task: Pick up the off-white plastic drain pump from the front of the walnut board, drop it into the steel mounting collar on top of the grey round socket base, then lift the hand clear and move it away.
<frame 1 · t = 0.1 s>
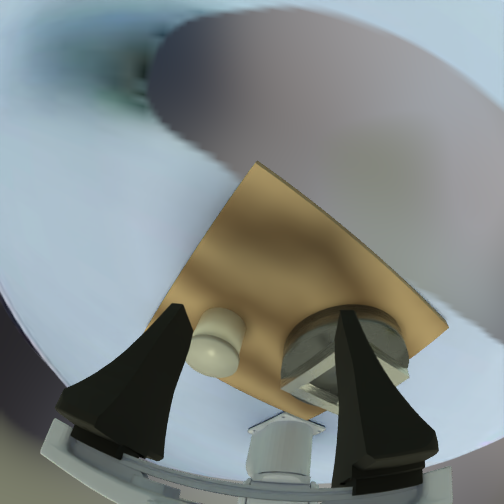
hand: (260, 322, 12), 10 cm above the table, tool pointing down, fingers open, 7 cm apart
pump: (222, 325, 26), point 1 cm above the table, touching board
board: (292, 333, 26), on the table
grey round socket base: (343, 352, 25), resting on board
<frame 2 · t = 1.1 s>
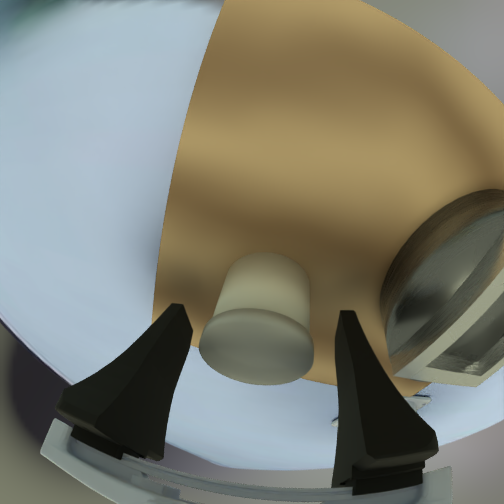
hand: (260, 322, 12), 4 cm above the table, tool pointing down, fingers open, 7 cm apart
pump: (267, 286, 15), point 1 cm above the table, touching board
board: (389, 271, 14), on the table
grey round socket base: (469, 284, 12), resting on board
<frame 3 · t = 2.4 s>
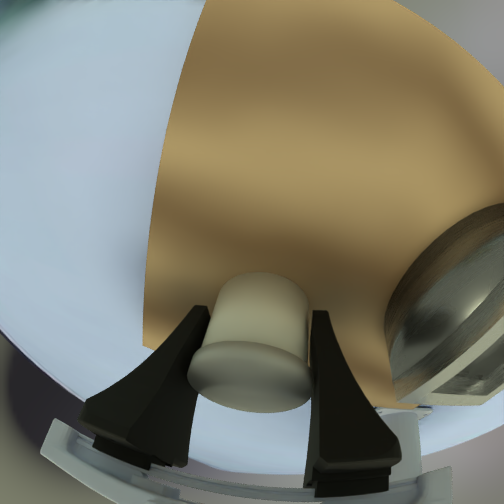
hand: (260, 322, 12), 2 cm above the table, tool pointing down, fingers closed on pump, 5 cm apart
pump: (262, 307, 13), point 1 cm above the table, touching board, gripper
board: (395, 289, 13), on the table
grey round socket base: (479, 301, 11), resting on board
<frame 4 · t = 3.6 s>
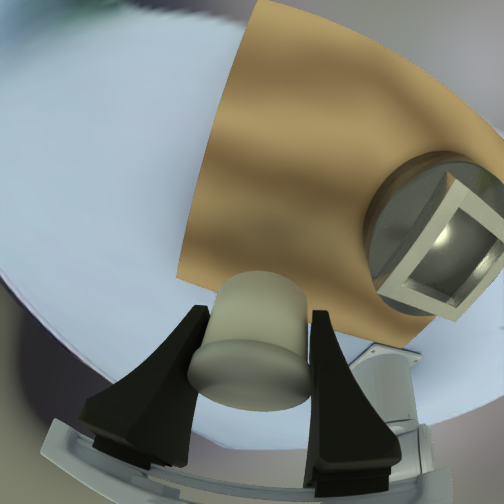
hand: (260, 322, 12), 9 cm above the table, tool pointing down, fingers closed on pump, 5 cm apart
pump: (261, 305, 13), point 8 cm above the table, touching gripper
board: (368, 217, 19), on the table
grey round socket base: (436, 229, 17), resting on board
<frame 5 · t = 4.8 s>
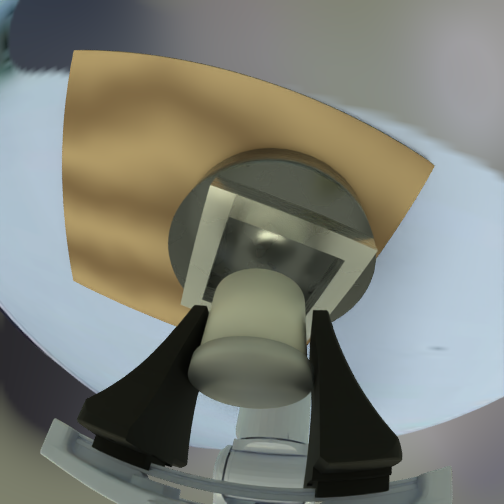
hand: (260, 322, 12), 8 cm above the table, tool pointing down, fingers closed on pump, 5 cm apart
pump: (259, 303, 13), point 7 cm above the table, touching gripper
board: (199, 228, 20), on the table
grey round socket base: (273, 239, 18), resting on board
when the fingers open (6 cm above the table, at t = 6.0 s): pump drops 1 cm, resting on grey round socket base.
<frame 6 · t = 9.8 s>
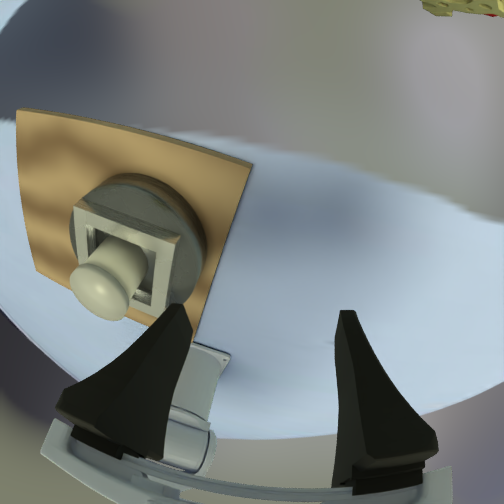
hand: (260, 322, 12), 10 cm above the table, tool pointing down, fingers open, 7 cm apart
pump: (124, 258, 20), point 4 cm above the table, touching grey round socket base
board: (102, 231, 24), on the table
grey round socket base: (141, 237, 23), resting on board
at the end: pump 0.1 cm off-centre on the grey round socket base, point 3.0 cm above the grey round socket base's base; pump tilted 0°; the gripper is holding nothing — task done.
